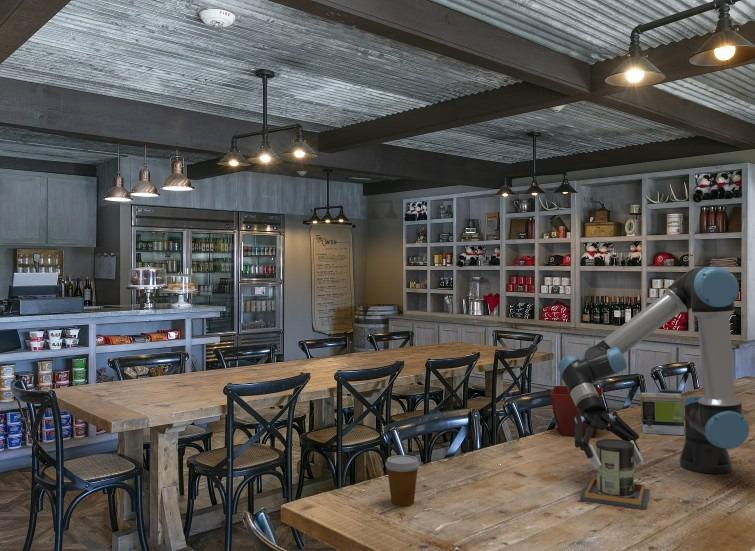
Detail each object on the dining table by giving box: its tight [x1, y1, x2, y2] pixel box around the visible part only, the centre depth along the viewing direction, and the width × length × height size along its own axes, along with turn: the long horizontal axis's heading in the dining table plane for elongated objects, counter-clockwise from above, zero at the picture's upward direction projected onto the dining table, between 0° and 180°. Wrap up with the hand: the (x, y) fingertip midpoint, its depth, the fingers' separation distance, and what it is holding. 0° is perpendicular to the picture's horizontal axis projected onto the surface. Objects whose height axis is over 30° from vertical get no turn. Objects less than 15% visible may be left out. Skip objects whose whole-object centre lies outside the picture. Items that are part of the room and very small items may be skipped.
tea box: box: [640, 392, 685, 436], centre depth 259 cm, size 15×10×15 cm
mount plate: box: [579, 477, 651, 510], centre depth 185 cm, size 17×15×2 cm
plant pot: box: [549, 385, 604, 438], centre depth 259 cm, size 19×19×17 cm
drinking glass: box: [656, 389, 684, 399], centre depth 280 cm, size 10×10×12 cm
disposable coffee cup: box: [385, 454, 420, 507], centre depth 183 cm, size 10×10×12 cm
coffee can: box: [595, 438, 635, 498], centre depth 185 cm, size 10×10×14 cm
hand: (619, 465), depth 183 cm, fingers open, 13 cm apart
